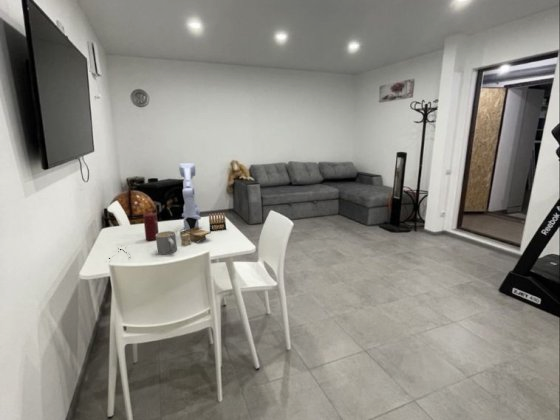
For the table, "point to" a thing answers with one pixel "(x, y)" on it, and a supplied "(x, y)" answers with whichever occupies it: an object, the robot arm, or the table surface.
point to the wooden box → (194, 237)
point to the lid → (197, 232)
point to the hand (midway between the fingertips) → (192, 229)
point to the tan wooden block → (185, 239)
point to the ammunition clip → (216, 224)
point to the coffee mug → (166, 242)
